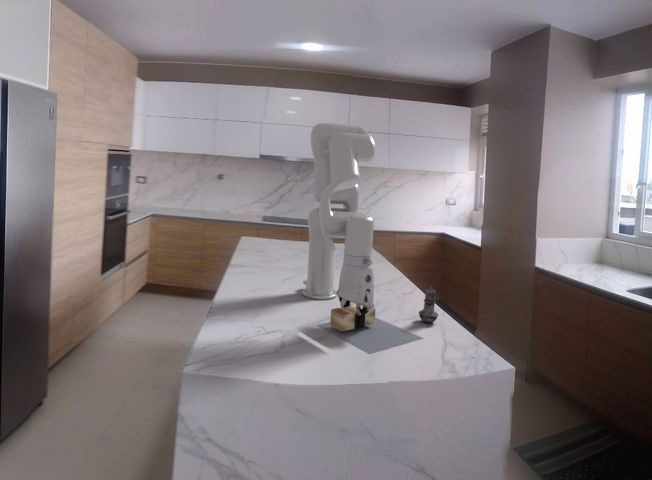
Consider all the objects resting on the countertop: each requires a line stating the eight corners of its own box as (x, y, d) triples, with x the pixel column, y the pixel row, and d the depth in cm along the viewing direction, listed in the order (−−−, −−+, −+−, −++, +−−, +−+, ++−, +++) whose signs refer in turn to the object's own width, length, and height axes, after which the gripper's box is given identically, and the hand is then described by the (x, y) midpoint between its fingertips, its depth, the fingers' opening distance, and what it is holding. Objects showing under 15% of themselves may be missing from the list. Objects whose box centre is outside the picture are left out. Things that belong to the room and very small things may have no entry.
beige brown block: (362, 318, 119) (363, 303, 119) (374, 323, 115) (375, 308, 115) (330, 325, 112) (331, 309, 111) (341, 331, 108) (342, 314, 107)
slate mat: (315, 327, 115) (315, 325, 115) (367, 316, 127) (367, 314, 127) (369, 357, 98) (369, 354, 98) (423, 341, 110) (423, 338, 110)
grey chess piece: (423, 328, 119) (427, 288, 118) (413, 321, 125) (417, 283, 123) (441, 327, 121) (445, 288, 119) (431, 320, 127) (434, 283, 125)
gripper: (389, 266, 107) (383, 332, 109) (347, 254, 120) (343, 313, 123) (368, 268, 102) (363, 337, 105) (327, 256, 115) (323, 317, 118)
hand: (352, 324), depth 114 cm, fingers closed on beige brown block, 5 cm apart
